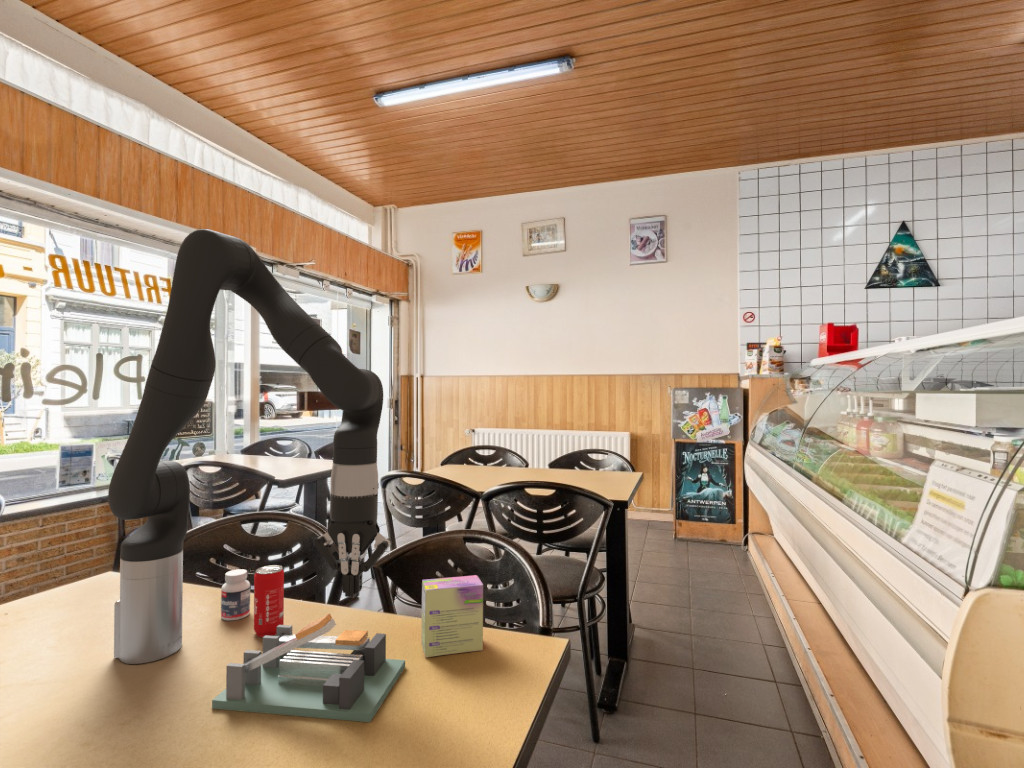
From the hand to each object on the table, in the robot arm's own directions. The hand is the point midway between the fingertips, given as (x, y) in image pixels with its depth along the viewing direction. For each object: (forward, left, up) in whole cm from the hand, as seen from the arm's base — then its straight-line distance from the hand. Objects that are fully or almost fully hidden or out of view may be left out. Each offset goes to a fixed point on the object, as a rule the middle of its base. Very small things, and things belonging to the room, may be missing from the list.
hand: (352, 595), depth 89 cm
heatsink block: (-3, -5, -11) cm, 13 cm away
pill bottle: (-33, +18, -13) cm, 39 cm away
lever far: (-5, 0, -8) cm, 10 cm away
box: (+14, +11, -13) cm, 22 cm away
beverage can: (-22, +12, -13) cm, 28 cm away
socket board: (-4, -5, -13) cm, 14 cm away
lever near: (-6, -9, -5) cm, 12 cm away
